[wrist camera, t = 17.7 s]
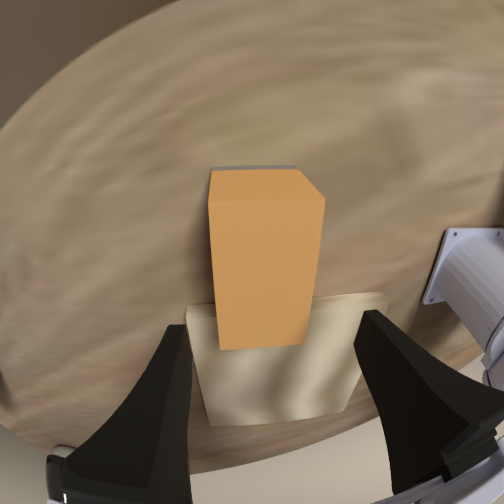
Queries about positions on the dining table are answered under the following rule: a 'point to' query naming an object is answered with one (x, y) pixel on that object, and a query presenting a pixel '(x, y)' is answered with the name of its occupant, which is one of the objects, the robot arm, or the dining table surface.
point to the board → (282, 365)
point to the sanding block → (263, 253)
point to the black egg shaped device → (57, 474)
